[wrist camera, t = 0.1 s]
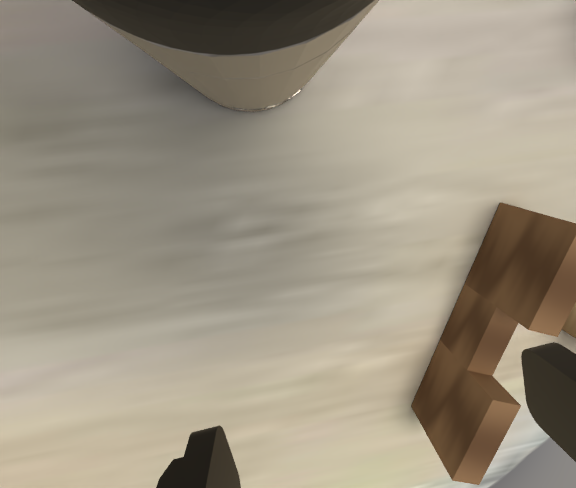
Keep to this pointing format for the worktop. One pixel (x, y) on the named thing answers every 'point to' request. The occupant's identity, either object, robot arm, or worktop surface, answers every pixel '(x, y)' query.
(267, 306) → the worktop surface
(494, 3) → the worktop surface
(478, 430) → the walnut board
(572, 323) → the wooden arch block
